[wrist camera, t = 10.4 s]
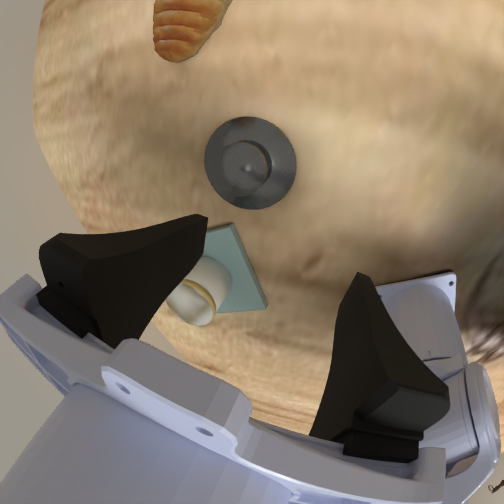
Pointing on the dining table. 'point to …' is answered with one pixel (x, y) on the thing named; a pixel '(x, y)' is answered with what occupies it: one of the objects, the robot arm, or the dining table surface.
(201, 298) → the can
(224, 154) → the grey round lid
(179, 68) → the dining table surface
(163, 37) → the pastry
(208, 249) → the coaster
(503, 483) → the coffee pot
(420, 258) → the dining table surface
